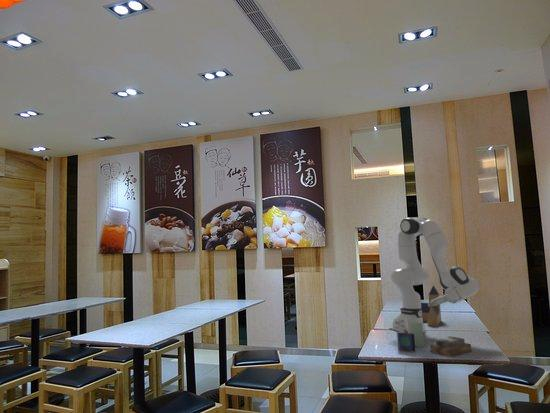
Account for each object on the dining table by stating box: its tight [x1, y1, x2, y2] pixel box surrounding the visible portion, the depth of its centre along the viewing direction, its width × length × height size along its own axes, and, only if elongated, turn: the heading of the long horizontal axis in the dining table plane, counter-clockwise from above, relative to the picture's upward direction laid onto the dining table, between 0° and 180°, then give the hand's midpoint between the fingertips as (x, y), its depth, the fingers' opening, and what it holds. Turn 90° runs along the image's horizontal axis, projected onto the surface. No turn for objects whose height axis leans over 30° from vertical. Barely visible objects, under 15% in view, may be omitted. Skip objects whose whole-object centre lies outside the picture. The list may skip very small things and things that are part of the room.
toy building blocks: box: [421, 285, 442, 327], centre depth 281 cm, size 12×19×25 cm, turn 151°
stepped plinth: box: [430, 336, 472, 358], centre depth 205 cm, size 12×16×6 cm
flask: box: [396, 329, 416, 353], centre depth 211 cm, size 9×3×11 cm, turn 48°
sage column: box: [411, 322, 425, 348], centre depth 219 cm, size 4×4×12 cm
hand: (432, 304), depth 225 cm, fingers open, 8 cm apart
